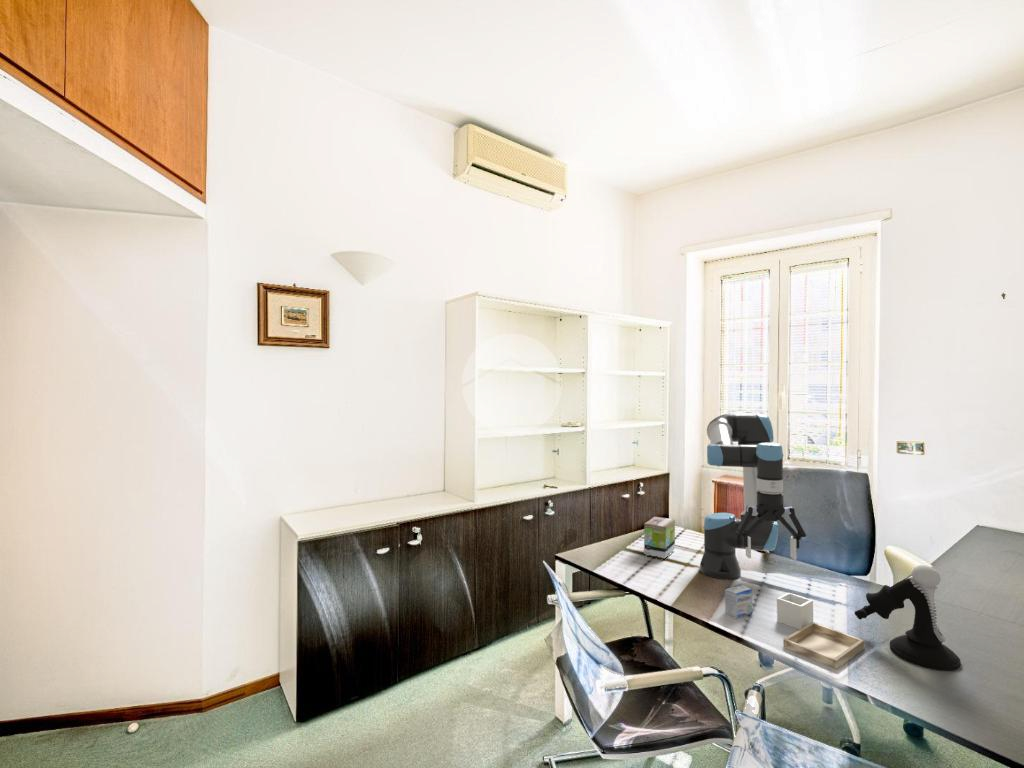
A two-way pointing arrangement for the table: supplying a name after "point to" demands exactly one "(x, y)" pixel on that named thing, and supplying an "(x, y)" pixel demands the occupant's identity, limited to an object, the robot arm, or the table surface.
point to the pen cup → (794, 610)
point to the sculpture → (915, 620)
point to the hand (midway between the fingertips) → (770, 557)
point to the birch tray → (824, 644)
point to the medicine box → (738, 601)
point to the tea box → (659, 537)
